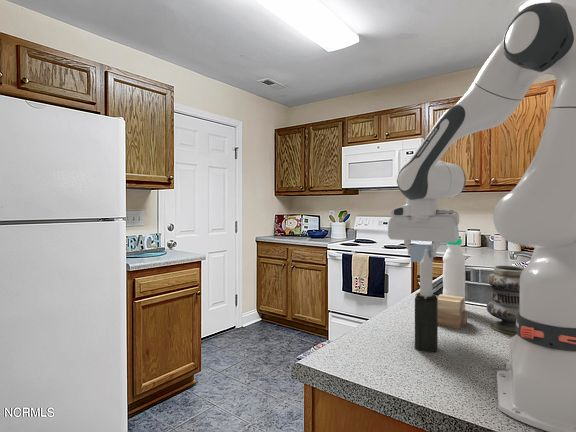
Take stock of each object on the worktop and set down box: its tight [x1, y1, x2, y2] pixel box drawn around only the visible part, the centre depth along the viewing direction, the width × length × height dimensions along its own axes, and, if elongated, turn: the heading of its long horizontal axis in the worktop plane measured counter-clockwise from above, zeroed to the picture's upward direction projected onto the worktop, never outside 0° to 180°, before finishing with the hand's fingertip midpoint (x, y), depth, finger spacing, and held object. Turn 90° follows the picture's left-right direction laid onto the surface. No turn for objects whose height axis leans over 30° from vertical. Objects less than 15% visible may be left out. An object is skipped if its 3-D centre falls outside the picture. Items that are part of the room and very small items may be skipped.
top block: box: [436, 293, 466, 316], centre depth 106 cm, size 7×7×4 cm
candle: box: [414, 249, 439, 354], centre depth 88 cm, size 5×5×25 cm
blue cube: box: [410, 243, 434, 263], centre depth 105 cm, size 5×5×5 cm
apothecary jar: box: [485, 264, 525, 336], centre depth 100 cm, size 12×12×18 cm
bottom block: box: [438, 309, 468, 330], centre depth 107 cm, size 8×8×4 cm
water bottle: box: [442, 237, 466, 303], centre depth 120 cm, size 7×7×25 cm
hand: (421, 255), depth 105 cm, fingers closed on blue cube, 5 cm apart
